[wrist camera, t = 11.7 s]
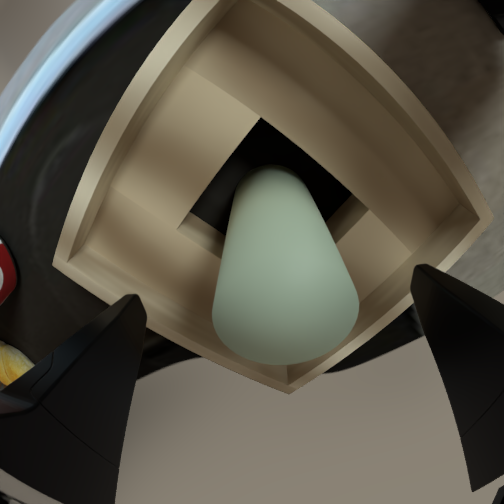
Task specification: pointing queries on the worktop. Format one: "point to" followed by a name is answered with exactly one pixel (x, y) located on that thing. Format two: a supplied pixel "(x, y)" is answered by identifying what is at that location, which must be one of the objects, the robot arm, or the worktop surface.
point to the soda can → (6, 272)
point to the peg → (281, 274)
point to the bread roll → (12, 363)
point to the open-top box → (225, 142)
